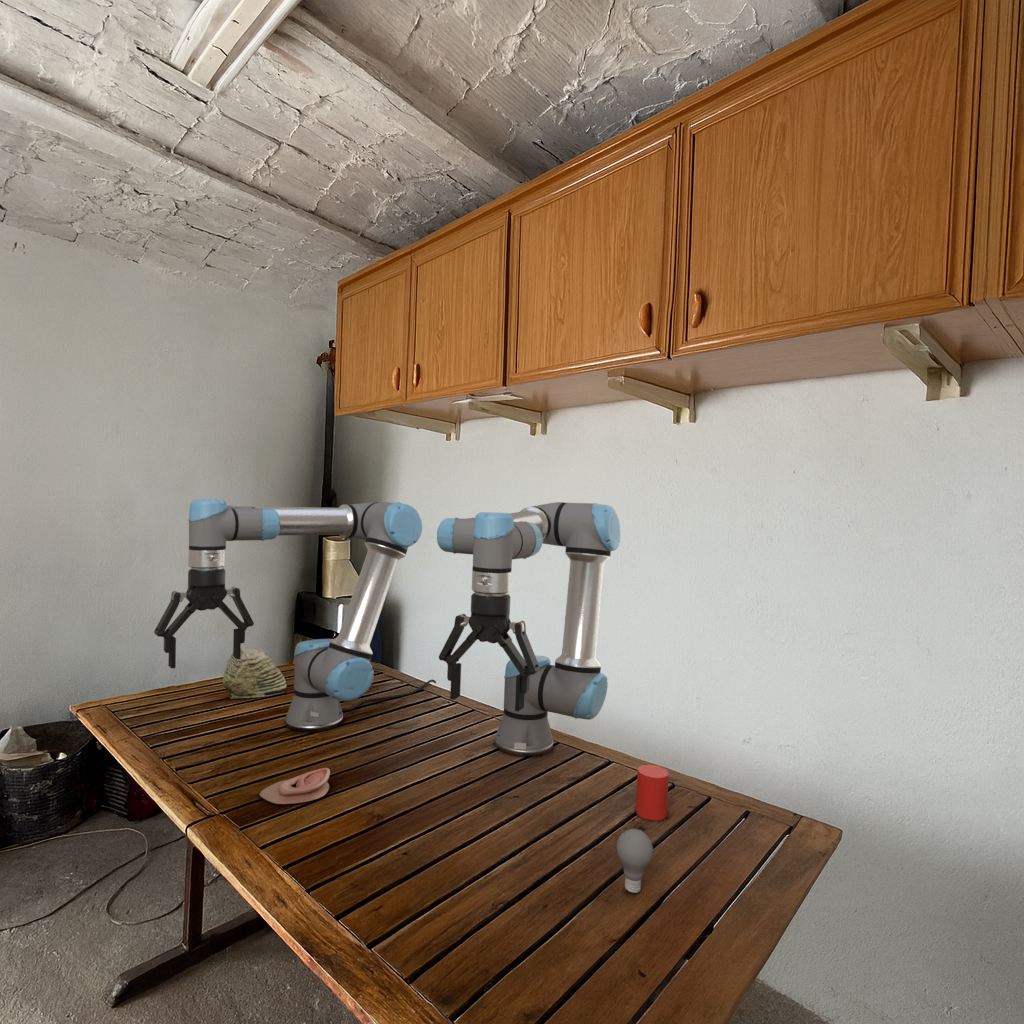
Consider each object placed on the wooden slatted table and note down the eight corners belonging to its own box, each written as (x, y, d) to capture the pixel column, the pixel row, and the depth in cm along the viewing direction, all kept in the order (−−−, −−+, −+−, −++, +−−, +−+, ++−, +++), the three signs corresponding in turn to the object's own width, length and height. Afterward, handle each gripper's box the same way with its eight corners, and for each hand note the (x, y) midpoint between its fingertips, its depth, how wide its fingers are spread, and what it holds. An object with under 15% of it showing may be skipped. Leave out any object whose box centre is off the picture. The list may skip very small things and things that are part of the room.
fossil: (218, 695, 195) (220, 647, 195) (278, 685, 208) (279, 640, 207) (228, 703, 189) (230, 653, 188) (289, 692, 201) (290, 645, 201)
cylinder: (629, 809, 134) (631, 768, 134) (651, 803, 137) (653, 762, 137) (650, 823, 129) (652, 780, 128) (673, 816, 132) (675, 774, 132)
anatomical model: (251, 781, 130) (282, 759, 142) (250, 800, 131) (281, 776, 142) (310, 789, 128) (337, 767, 139) (309, 809, 128) (336, 784, 139)
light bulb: (610, 879, 108) (613, 822, 108) (644, 879, 109) (647, 822, 109) (619, 902, 102) (622, 840, 102) (655, 901, 103) (658, 840, 103)
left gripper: (147, 573, 131) (146, 675, 131) (269, 567, 147) (267, 657, 148) (139, 569, 136) (138, 667, 137) (257, 563, 153) (255, 650, 153)
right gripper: (424, 589, 122) (420, 698, 123) (546, 602, 113) (541, 720, 113) (443, 585, 129) (439, 688, 130) (559, 597, 120) (554, 708, 120)
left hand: (205, 662), depth 142 cm, fingers open, 13 cm apart
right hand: (486, 703), depth 121 cm, fingers open, 13 cm apart
